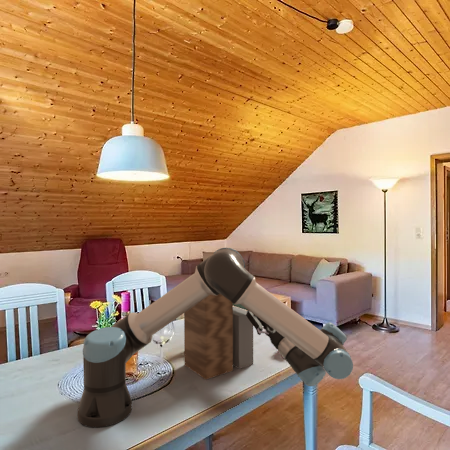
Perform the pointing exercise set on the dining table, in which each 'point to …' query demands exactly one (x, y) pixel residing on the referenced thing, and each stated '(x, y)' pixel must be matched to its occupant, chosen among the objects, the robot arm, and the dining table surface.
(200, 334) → the stand
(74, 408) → the dining table surface
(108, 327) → the robot arm
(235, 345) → the base block
